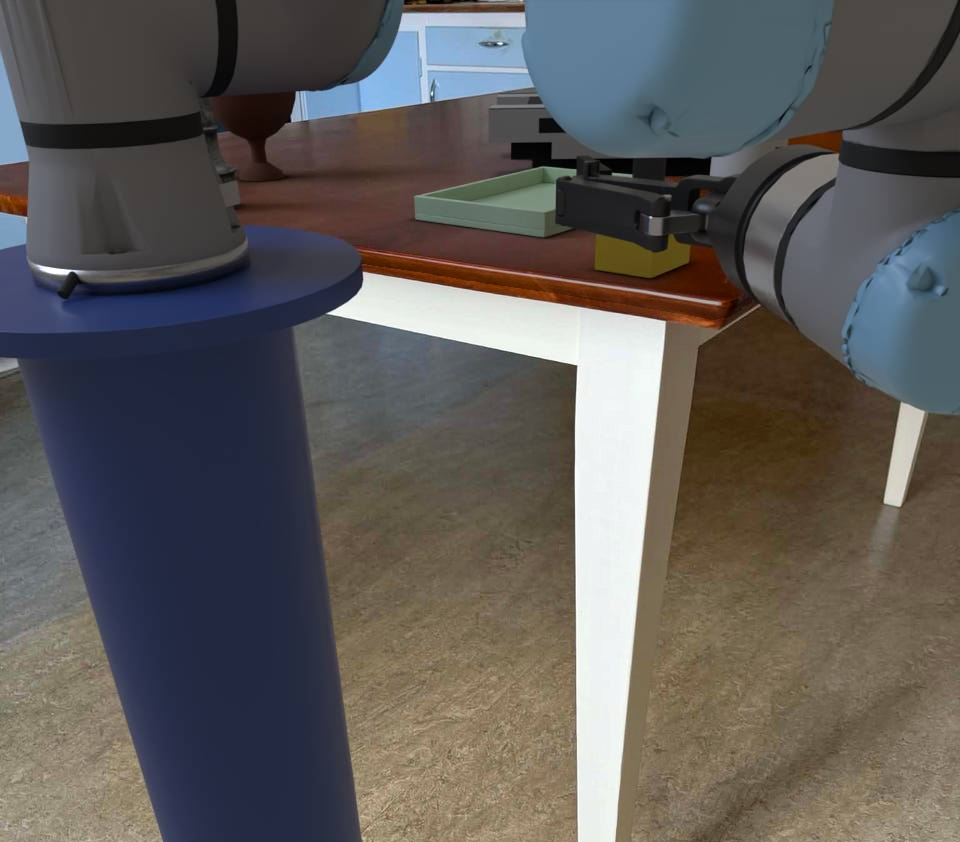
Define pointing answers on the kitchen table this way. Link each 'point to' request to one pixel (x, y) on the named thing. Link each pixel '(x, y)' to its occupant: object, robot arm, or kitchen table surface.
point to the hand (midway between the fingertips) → (680, 173)
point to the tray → (500, 203)
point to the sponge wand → (630, 255)
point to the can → (742, 159)
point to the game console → (560, 139)
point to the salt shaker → (215, 143)
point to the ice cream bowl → (255, 126)
